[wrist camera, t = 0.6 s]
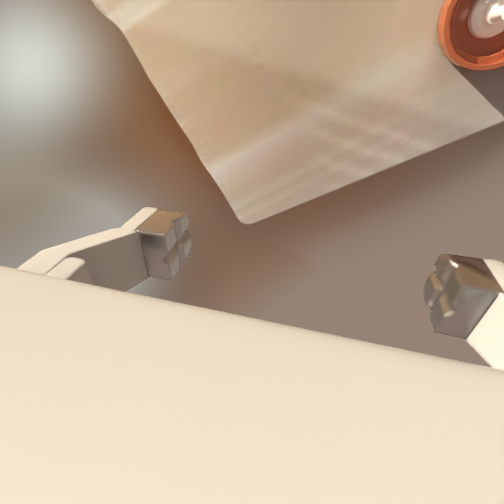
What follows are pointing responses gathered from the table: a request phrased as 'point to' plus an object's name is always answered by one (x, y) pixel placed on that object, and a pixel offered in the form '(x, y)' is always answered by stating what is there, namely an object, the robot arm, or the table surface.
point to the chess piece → (486, 18)
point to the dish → (467, 39)
